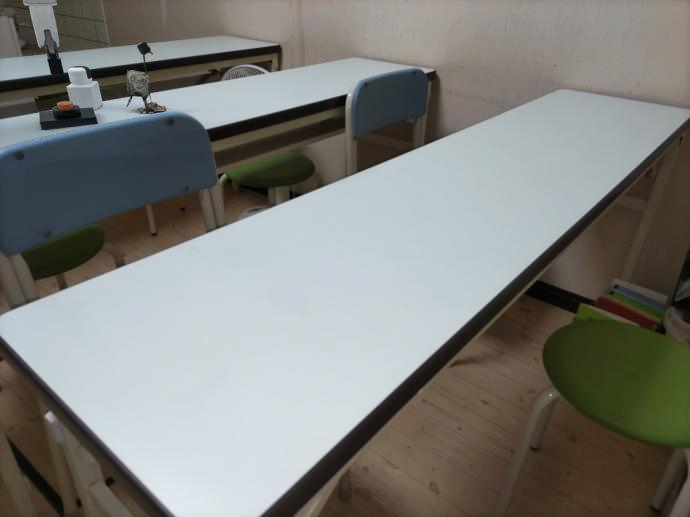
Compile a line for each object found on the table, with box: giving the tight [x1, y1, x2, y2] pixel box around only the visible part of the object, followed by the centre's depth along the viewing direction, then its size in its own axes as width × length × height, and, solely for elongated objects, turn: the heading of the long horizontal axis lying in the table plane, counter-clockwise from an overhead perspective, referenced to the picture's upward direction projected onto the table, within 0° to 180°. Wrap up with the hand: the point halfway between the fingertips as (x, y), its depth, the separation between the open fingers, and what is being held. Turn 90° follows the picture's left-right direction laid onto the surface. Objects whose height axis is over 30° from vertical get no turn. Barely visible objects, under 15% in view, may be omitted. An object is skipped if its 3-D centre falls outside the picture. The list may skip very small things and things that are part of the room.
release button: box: [56, 100, 74, 110], centre depth 142 cm, size 4×4×2 cm
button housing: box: [38, 105, 99, 131], centre depth 144 cm, size 14×11×4 cm
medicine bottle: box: [65, 65, 104, 111], centre depth 155 cm, size 7×7×12 cm
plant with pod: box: [125, 40, 167, 115], centre depth 151 cm, size 8×11×20 cm
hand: (57, 73), depth 138 cm, fingers closed
